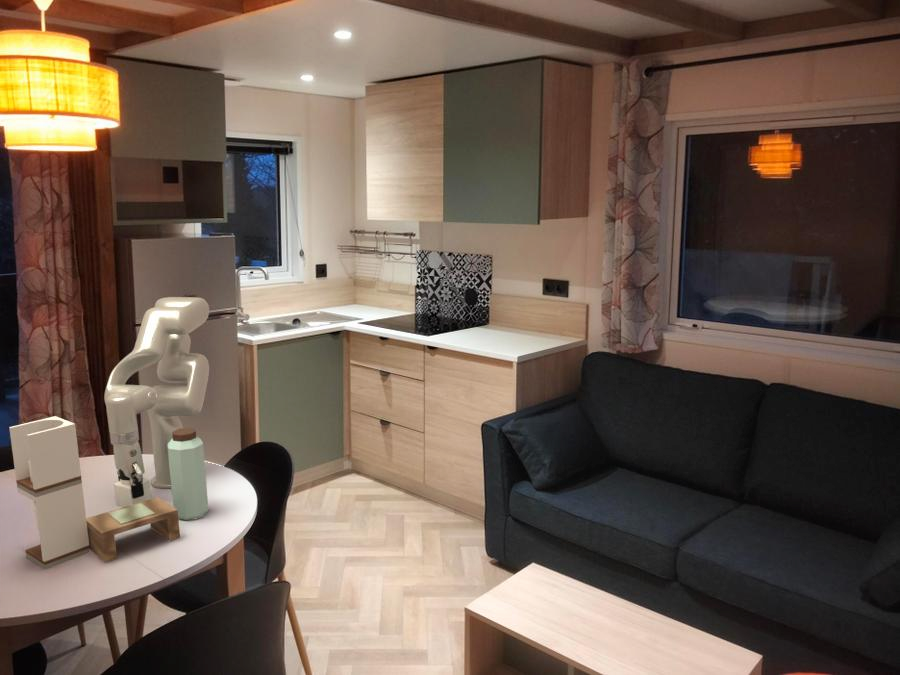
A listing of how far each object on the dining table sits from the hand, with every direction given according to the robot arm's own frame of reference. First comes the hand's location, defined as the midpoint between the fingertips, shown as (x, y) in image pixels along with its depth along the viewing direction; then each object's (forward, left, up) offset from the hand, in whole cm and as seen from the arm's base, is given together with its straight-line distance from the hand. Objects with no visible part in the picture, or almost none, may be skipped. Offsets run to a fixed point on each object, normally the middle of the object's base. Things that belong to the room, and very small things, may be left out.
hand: (131, 491), depth 231 cm
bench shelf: (+8, +20, -6) cm, 22 cm away
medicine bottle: (-1, 0, -4) cm, 4 cm away
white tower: (+25, +13, -6) cm, 29 cm away
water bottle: (-11, +14, -6) cm, 19 cm away
